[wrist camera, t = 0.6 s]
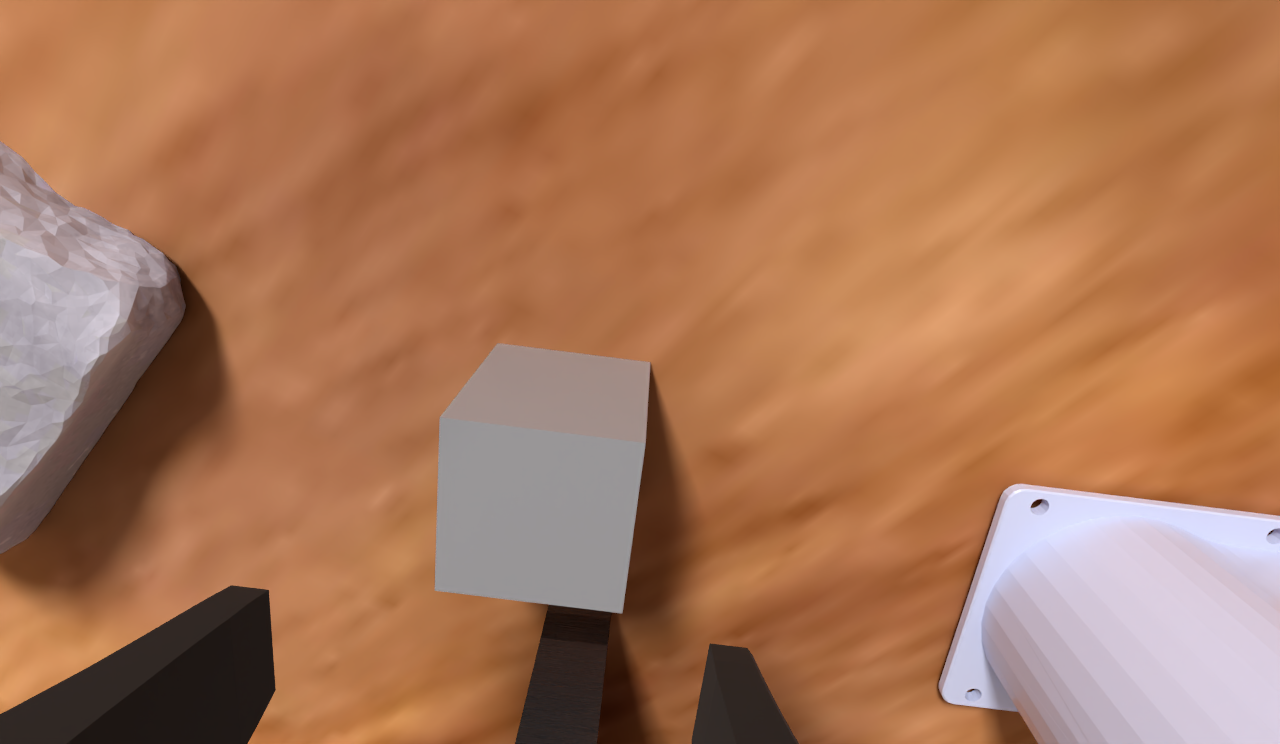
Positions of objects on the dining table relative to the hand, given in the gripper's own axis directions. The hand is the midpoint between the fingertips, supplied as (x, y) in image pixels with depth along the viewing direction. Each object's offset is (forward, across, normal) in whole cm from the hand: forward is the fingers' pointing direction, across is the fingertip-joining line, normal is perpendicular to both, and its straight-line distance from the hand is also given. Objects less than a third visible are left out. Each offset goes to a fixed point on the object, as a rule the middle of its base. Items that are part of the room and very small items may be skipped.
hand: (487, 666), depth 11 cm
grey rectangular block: (+10, 0, 0) cm, 10 cm away
